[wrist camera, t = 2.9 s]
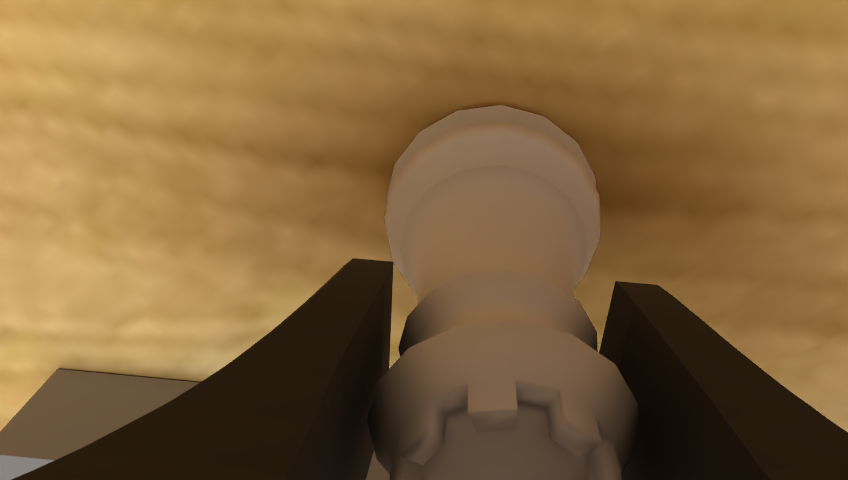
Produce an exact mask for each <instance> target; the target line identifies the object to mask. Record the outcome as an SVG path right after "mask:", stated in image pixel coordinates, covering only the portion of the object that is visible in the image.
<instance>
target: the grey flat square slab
mask: <svg viewBox="0 0 848 480" xmlns="http://www.w3.org/2000/svg"><path fill="white" fill-rule="evenodd" d="M199 383H200V382H189V381H179V380H168V379H158V378H147V377H137V376H126V375H116V374H105V373H95V372H84V371H74V370H63V369H57V370H56V371H55V372H54V374H53V375H52V376H51V377H50V378H49V379H48V380H47V381H46V382H45V383H44V384H43V386H42V387H41V388H40V389H39V390H38V391H37V392H36V393H35V394H34V395H33V396H32V398H31V399H30V400H29V401H28V402H27V403H26V404H25V405H24V406H23V407H22V409H21V410H20V411H19V412H18V413H17V414H16V415H15V416H14V417H13V418H12V419H11V421H10V422H9V423H8V424H7V425H6V426H5V427H4V428H3V429H2V430H1V432H0V480H11V479H14V478H16V477H18V476H21V475H23V474H25V473H28V472H30V471H33V470H35V469H37V468H39V467H41V466H43V465H46V464H48V463H50V462H52V461H54V460H57V459H59V458H61V457H63V456H65V455H67V454H70V453H72V452H74V451H76V450H78V449H80V448H82V447H84V446H86V445H88V444H90V443H92V442H94V441H96V440H98V439H100V438H102V437H104V436H106V435H108V434H109V433H111V432H113V431H115V430H117V429H119V428H121V427H123V426H125V425H127V424H128V423H130V422H132V421H134V420H136V419H138V418H140V417H142V416H144V415H146V414H147V413H149V412H151V411H153V410H155V409H157V408H159V407H161V406H162V405H164V404H166V403H168V402H169V401H171V400H173V399H174V398H176V397H178V396H179V395H181V394H182V393H184V392H186V391H187V390H189V389H191V388H192V387H194V386H195V385H197V384H199ZM389 478H390V475H389V473H388V472H387V471H386V470H385V469H384V467H383V466H382V465H381V464H380V463H379V461H378V460H377V459H376V455H375V451H374V452H373V456H372V459H371V463H370V466H369V470H368V474H367V477H366V480H389Z"/></svg>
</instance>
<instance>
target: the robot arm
mask: <svg viewBox="0 0 848 480" xmlns="http://www.w3.org/2000/svg"><path fill="white" fill-rule="evenodd" d="M392 281H393V262H389V261H377V260H366V259H354V258H353V259H352V260H351V261H349V262H348V263H347V264H346V265H344V266H343V267H342V268H341V269H340V270H339V271H338V272H337V273H336V274H335V275H334V276H333V277H332V278H331V279H330V280H329V281H328V282H327V283H325V284H324V285H323V286H322V287H321V288H320V289H319V290H318V291H317V292H316V293H315V294H314V295H313V296H311V297H310V298H309V299H308V300H307V301H306V302H305V303H304V304H303V305H301V306H300V307H299V308H298V309H297V310H296V311H294V312H293V313H292V314H291V315H290V316H289V317H287V318H286V319H285V320H284V321H283V322H282V323H281V324H279V325H278V326H277V327H276V328H275V329H273V330H272V331H271V332H270V333H268V334H267V335H266V336H264V337H263V338H262V339H261V340H259V341H258V342H257V343H255V344H254V345H253V346H251V347H250V348H249V349H248V350H246V351H245V352H244V353H242V354H241V355H240V356H238V357H237V358H236V359H234V360H233V361H232V362H230V363H229V364H228V365H226V366H225V367H223V368H222V369H220V370H219V371H217V372H216V373H214V374H213V375H211V376H210V377H208V378H207V379H205V380H203V381H202V382H200V383H199V384H197V385H195V386H194V387H192V388H191V389H189V390H187V391H186V392H184V393H182V394H181V395H179V396H178V397H176V398H174V399H173V400H171V401H169V402H168V403H166V404H164V405H162V406H161V407H159V408H157V409H155V410H153V411H151V412H149V413H147V414H146V415H144V416H142V417H140V418H138V419H136V420H134V421H132V422H130V423H128V424H127V425H125V426H123V427H121V428H119V429H117V430H115V431H113V432H111V433H109V434H108V435H106V436H104V437H102V438H100V439H98V440H96V441H94V442H92V443H90V444H88V445H86V446H84V447H82V448H80V449H78V450H76V451H74V452H72V453H70V454H67V455H65V456H63V457H61V458H59V459H57V460H54V461H52V462H50V463H48V464H46V465H43V466H41V467H39V468H37V469H35V470H33V471H30V472H28V473H25V474H23V475H21V476H18V477H16V478H14V479H11V480H366V477H367V474H368V470H369V466H370V463H371V459H372V456H373V452H374V447H373V443H372V439H371V435H370V431H369V427H368V423H367V419H368V415H369V411H370V408H371V404H372V400H373V397H374V393H375V389H376V386H377V382H378V381H379V380H380V378H381V377H382V376H383V375H384V374H385V373H386V372H387V371H388V370H389V357H390V332H391V306H392ZM599 353H600V354H601V355H603V356H604V357H605V358H607V359H608V360H610V361H611V362H613V363H614V364H615V365H616V366H617V368H618V370H619V372H620V373H621V375H622V377H623V379H624V380H625V382H626V384H627V385H628V387H629V389H630V391H631V392H632V394H633V396H634V398H635V399H636V401H637V403H638V445H637V447H636V449H635V450H634V452H633V454H632V456H631V458H630V459H629V461H628V463H627V465H626V467H625V468H624V470H623V472H622V474H621V475H622V480H848V433H847V432H846V431H845V430H843V429H842V428H840V427H839V426H837V425H836V424H834V423H833V422H831V421H830V420H829V419H827V418H826V417H825V416H823V415H822V414H820V413H819V412H818V411H816V410H815V409H814V408H812V407H811V406H810V405H808V404H807V403H805V402H804V401H803V400H801V399H800V398H799V397H797V396H796V395H794V394H793V393H792V392H790V391H789V390H788V389H786V388H785V387H784V386H782V385H781V384H780V383H779V382H777V381H776V380H775V379H773V378H772V377H771V376H770V375H768V374H767V373H766V372H764V371H763V370H762V369H761V368H759V367H758V366H757V365H756V364H754V363H753V362H752V361H751V360H749V359H748V358H747V357H746V356H744V355H743V354H742V353H741V352H740V351H738V350H737V349H736V348H735V347H733V346H732V345H731V344H730V343H729V342H727V341H726V340H725V339H724V338H723V337H721V336H720V335H719V334H718V333H717V332H715V331H714V330H713V329H712V328H711V327H709V326H708V325H707V324H706V323H705V322H703V321H702V320H701V319H700V318H699V317H698V316H696V315H695V314H694V313H693V312H692V311H690V310H689V309H688V308H687V307H686V306H684V305H683V304H682V303H681V302H679V301H678V300H677V299H676V298H674V297H673V296H672V295H671V294H669V293H668V292H667V291H665V290H664V289H662V288H661V287H660V286H658V285H651V284H640V283H629V282H617V281H615V286H614V290H613V295H612V299H611V303H610V308H609V312H608V316H607V321H606V325H605V330H604V334H603V338H602V343H601V347H600V352H599Z"/></svg>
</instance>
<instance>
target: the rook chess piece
mask: <svg viewBox="0 0 848 480" xmlns="http://www.w3.org/2000/svg"><path fill="white" fill-rule="evenodd" d="M386 204H387V208H386V212H385V217H384V222H385V227H386V232H387V237H388V242H389V247H390V252H391V256H392V259H393V262H394V264H395V266H396V267H397V269H398V270H399V271H400V273H401V274H402V276H403V277H404V279H405V280H406V281H407V283H408V284H409V286H410V287H411V289H412V290H413V291H414V293H415V294H417V298H418V306H417V307H416V308H415V309H414V310H413V311H412V312H411V313H410V314H409V316H408V317H407V320H406V323H405V327H404V330H403V334H402V337H401V341H400V344H399V352H400V358H399V359H398V360H397V361H396V362H395V363H394V364H393V366H392V367H391V368H390V369H389V370H388V371H387V372H386V373H385V374H384V375H383V376H382V377H381V378H380V380H379V381H378V382H377V386H376V389H375V393H374V397H373V400H372V404H371V408H370V411H369V415H368V419H367V423H368V427H369V431H370V435H371V439H372V443H373V447H374V451H375V455H376V459H377V460H378V461H379V463H380V464H381V465H382V466H383V467H384V469H385V470H386V471H387V472H388V473H389V475H390V478H389V480H622V475H621V474H622V472H623V470H624V468H625V467H626V465H627V463H628V461H629V459H630V458H631V456H632V454H633V452H634V450H635V449H636V447H637V445H638V403H637V401H636V399H635V398H634V396H633V394H632V392H631V391H630V389H629V387H628V385H627V384H626V382H625V380H624V379H623V377H622V375H621V373H620V372H619V370H618V368H617V366H616V365H615V364H614V363H613V362H611V361H610V360H608V359H607V358H605V357H604V356H603V355H601V354H600V353H598V352H597V331H596V330H595V328H594V326H593V325H592V323H591V321H590V319H589V318H588V316H587V314H586V312H585V311H584V309H583V307H582V305H581V304H580V302H579V301H577V300H576V299H574V290H575V288H576V285H577V284H578V283H579V282H580V281H581V280H582V279H583V278H584V276H585V274H586V271H587V269H588V267H589V264H590V262H591V260H592V257H593V255H594V253H595V250H596V248H597V246H598V243H599V239H600V235H601V230H600V198H599V194H598V192H597V190H596V178H595V176H594V174H593V172H592V170H591V168H590V166H589V164H588V162H587V160H586V158H585V156H584V154H583V152H582V150H581V148H580V147H579V145H578V143H577V142H576V141H575V140H574V139H573V138H571V137H570V136H569V135H567V134H566V133H565V132H564V131H562V130H561V129H560V128H558V127H557V126H556V125H555V124H553V123H552V122H551V121H550V120H548V119H547V118H546V117H544V116H541V115H538V114H534V113H530V112H526V111H523V110H519V109H515V108H511V107H507V106H504V105H496V106H489V107H481V108H473V109H465V110H457V111H455V112H454V113H452V114H450V115H448V116H447V117H445V118H443V119H441V120H439V121H438V122H436V123H434V124H432V125H431V126H429V127H427V128H425V129H423V130H422V131H420V132H419V133H418V134H417V136H416V137H415V138H414V140H413V141H412V142H411V143H410V145H409V146H408V147H407V149H406V150H405V151H404V153H403V154H402V155H401V156H400V158H399V159H398V160H397V162H396V163H395V165H394V169H393V173H392V178H391V182H390V186H389V190H388V194H387V199H386Z"/></svg>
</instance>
